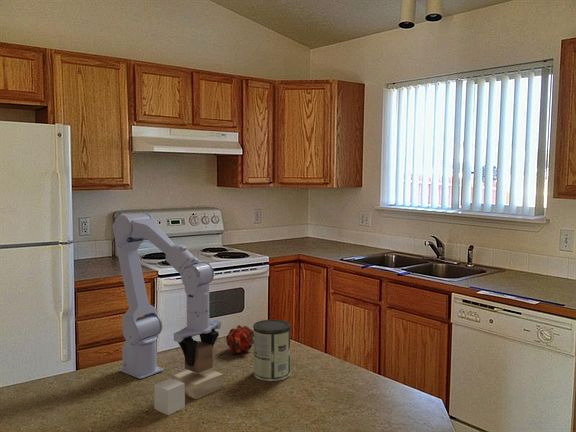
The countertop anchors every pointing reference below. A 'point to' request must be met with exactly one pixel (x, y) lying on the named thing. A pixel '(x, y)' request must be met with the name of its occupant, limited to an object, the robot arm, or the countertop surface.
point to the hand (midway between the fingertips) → (198, 361)
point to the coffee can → (272, 350)
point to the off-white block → (169, 396)
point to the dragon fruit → (240, 339)
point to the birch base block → (200, 382)
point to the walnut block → (202, 358)
